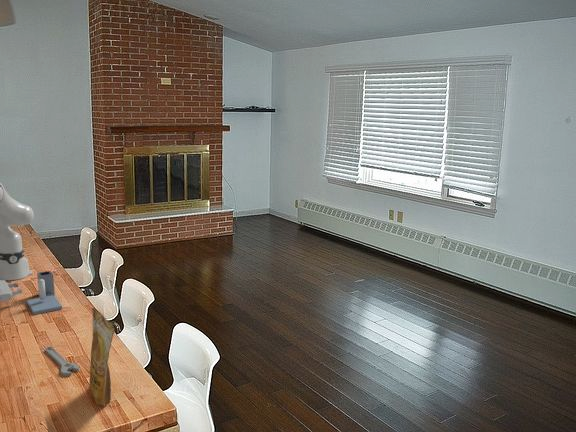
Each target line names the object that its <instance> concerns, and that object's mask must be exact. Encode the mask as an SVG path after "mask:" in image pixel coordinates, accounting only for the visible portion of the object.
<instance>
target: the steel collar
mask: <svg viewBox="0 0 576 432" xmlns="http://www.w3.org/2000/svg"><path fill="white" fill-rule="evenodd" d="M36 275H37V276H36V277H37V282H38V281H39V280H40V279H43V280H44V281H45V293H46V296H51V295H54V296H55V297H56V294H55V293H56V292H55V281H54V273H53V272H52V271H51V270H48V271H47V270H46V271H41V272H40V271H39V272H37V273H36ZM37 286H38V287H37V288H38V289H39V284H38V283H37Z"/></svg>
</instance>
